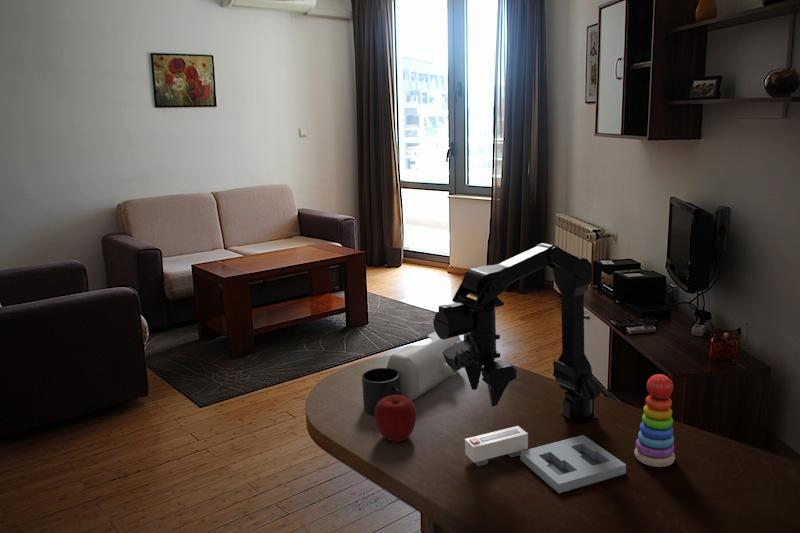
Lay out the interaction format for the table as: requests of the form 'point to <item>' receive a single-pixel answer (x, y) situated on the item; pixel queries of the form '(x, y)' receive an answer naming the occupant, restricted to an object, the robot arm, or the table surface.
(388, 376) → the mug
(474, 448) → the power strip
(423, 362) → the tank
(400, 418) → the apple
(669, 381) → the stacking toy
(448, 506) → the table surface
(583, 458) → the keyhole board
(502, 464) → the table surface
